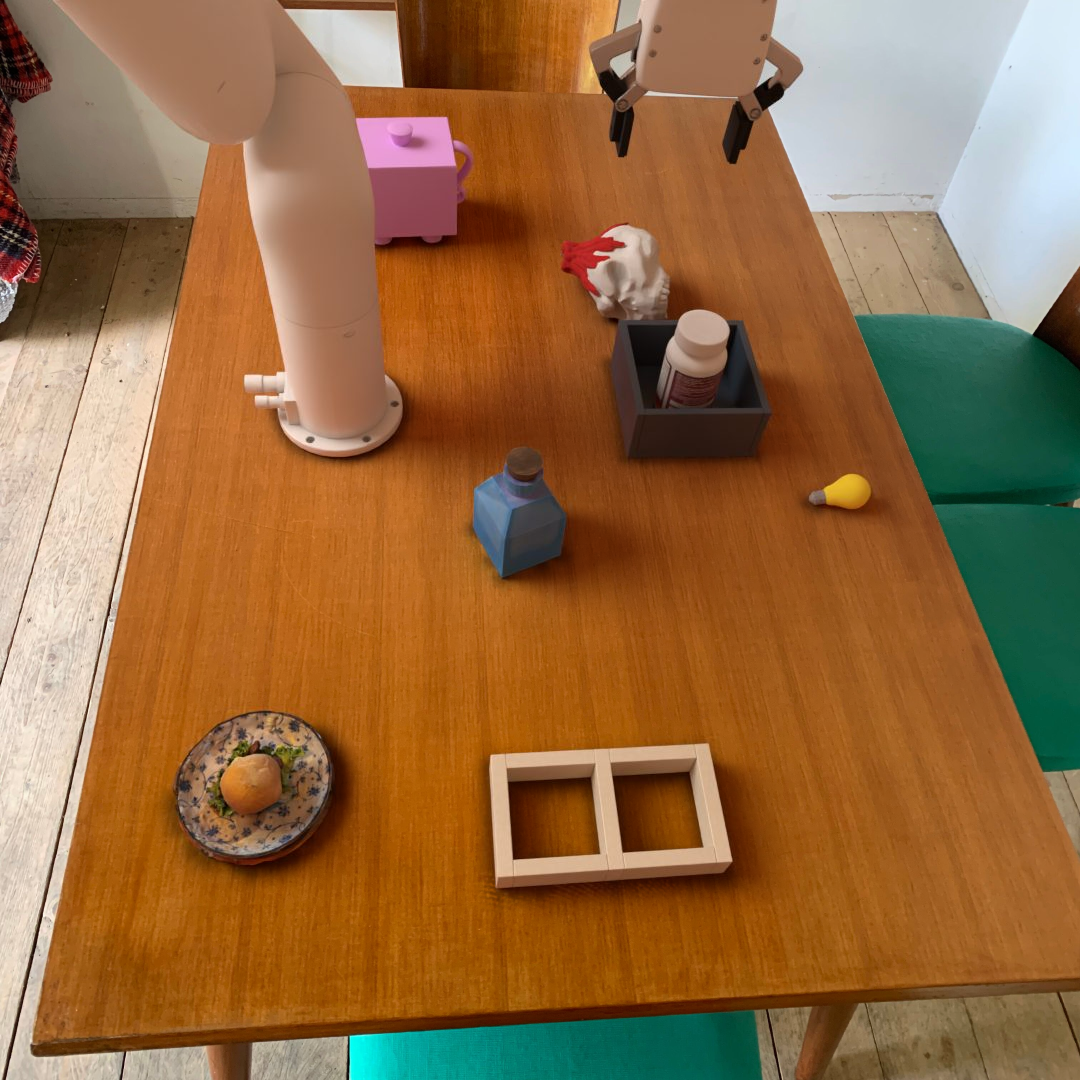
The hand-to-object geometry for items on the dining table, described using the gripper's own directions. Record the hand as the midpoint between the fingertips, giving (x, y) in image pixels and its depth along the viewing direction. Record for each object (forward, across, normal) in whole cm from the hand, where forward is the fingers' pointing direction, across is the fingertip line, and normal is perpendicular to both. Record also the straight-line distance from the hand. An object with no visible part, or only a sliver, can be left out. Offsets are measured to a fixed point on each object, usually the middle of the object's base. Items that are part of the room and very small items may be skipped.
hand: (674, 151), depth 79 cm
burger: (+28, +34, +45) cm, 63 cm away
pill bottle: (+27, -6, +5) cm, 28 cm away
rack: (+28, +7, +49) cm, 56 cm away
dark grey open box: (+27, -6, +4) cm, 28 cm away
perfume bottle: (+28, +12, +22) cm, 38 cm away
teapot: (+28, +26, -27) cm, 46 cm away
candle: (+27, -1, -13) cm, 30 cm away
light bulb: (+27, -20, +17) cm, 38 cm away
